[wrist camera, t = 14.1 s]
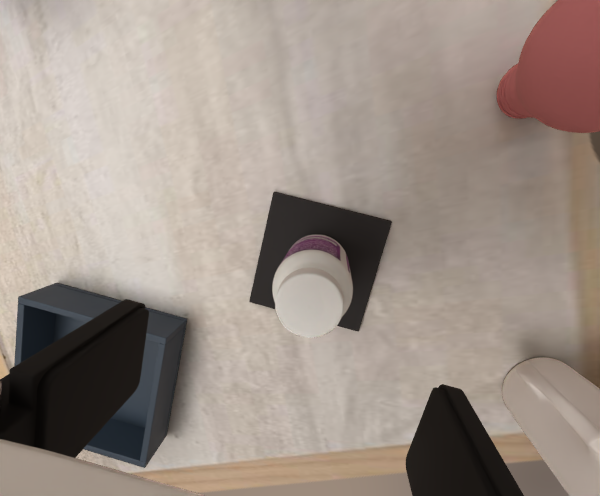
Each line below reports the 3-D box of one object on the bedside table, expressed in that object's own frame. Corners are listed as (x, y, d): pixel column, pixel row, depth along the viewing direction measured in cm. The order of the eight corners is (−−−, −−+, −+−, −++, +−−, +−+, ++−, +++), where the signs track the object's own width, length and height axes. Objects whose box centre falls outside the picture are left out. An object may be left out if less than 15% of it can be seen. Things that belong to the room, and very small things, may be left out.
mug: (598, 396, 28) (781, 546, 17) (528, 436, 30) (652, 601, 18) (527, 309, 28) (666, 404, 16) (458, 355, 29) (541, 472, 17)
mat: (274, 191, 28) (273, 191, 28) (391, 221, 27) (392, 221, 27) (250, 300, 30) (249, 302, 30) (358, 329, 30) (358, 331, 29)
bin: (56, 282, 32) (17, 296, 28) (187, 318, 31) (166, 338, 27) (47, 399, 35) (10, 427, 31) (166, 435, 34) (144, 468, 30)
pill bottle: (273, 262, 29) (243, 301, 19) (318, 220, 28) (309, 240, 18) (316, 306, 29) (306, 366, 20) (362, 267, 28) (375, 310, 19)
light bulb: (472, 159, 26) (585, 141, 14) (455, 63, 25) (563, -43, 13) (572, 132, 25) (783, 89, 13) (559, 31, 24) (778, -117, 12)
